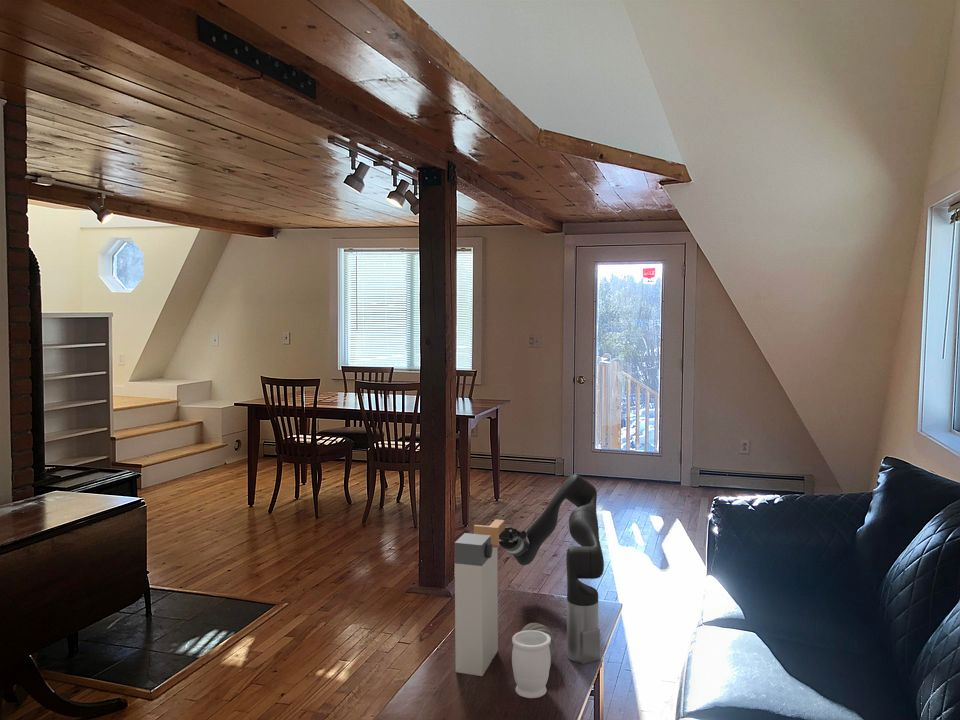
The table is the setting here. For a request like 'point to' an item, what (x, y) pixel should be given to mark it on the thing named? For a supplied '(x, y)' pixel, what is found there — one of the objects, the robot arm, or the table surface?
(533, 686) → the jar
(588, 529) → the robot arm
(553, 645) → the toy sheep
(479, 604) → the pedestal
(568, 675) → the table surface
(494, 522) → the tan piece
